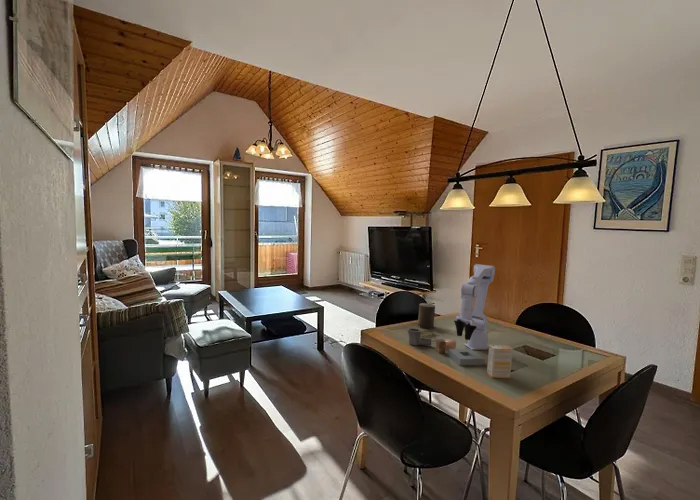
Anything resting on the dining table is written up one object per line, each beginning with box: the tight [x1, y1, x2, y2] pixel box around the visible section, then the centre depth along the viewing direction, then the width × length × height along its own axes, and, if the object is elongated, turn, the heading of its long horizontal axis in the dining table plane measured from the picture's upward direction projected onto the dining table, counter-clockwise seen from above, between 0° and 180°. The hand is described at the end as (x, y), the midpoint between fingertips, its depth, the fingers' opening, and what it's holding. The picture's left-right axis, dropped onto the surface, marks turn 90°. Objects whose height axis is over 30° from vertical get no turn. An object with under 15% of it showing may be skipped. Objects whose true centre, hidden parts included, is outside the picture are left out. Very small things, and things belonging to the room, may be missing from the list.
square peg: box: [435, 338, 446, 354], centre depth 168 cm, size 3×3×6 cm
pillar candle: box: [417, 302, 436, 330], centre depth 209 cm, size 10×10×15 cm
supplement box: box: [486, 344, 514, 379], centre depth 144 cm, size 8×5×13 cm, turn 92°
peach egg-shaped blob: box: [444, 338, 457, 353], centre depth 171 cm, size 6×6×5 cm
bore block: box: [447, 348, 485, 367], centre depth 160 cm, size 12×12×3 cm
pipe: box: [406, 327, 432, 347], centre depth 176 cm, size 6×13×8 cm, turn 78°
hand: (463, 337), depth 160 cm, fingers open, 7 cm apart
